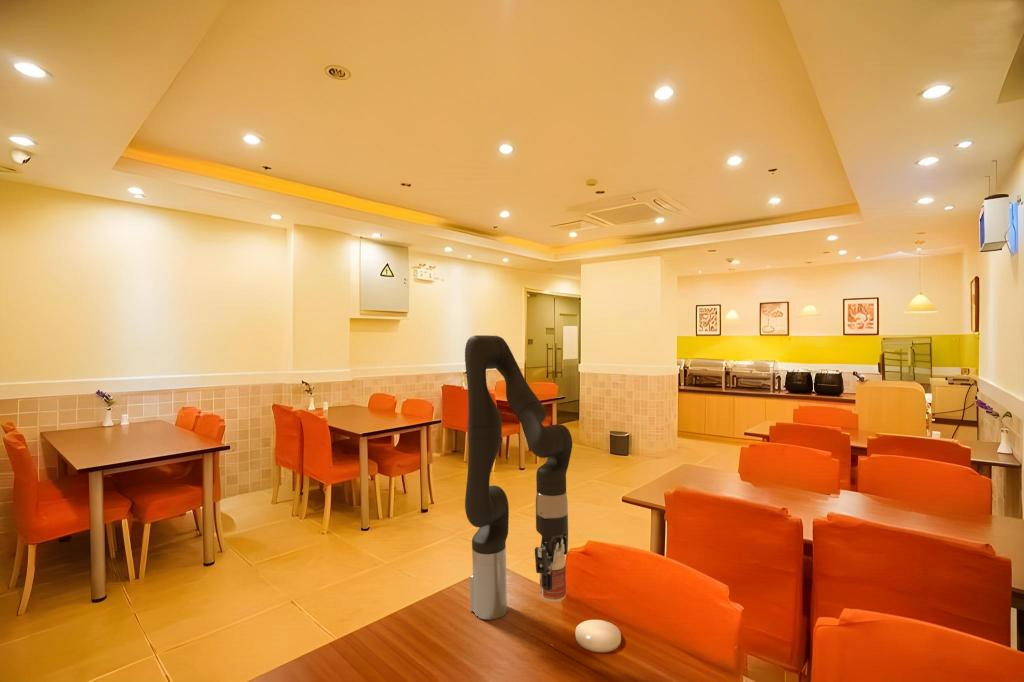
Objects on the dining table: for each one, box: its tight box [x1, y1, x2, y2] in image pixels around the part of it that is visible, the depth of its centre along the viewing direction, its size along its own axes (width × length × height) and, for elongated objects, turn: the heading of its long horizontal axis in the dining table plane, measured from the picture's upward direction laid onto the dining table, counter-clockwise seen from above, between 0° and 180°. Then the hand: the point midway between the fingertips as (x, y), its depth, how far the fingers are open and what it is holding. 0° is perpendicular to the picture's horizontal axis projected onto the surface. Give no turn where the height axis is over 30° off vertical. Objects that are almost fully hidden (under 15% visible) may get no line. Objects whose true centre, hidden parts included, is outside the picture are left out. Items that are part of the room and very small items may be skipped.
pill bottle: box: [539, 547, 567, 603], centre depth 109 cm, size 6×6×11 cm
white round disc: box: [574, 619, 622, 653], centre depth 114 cm, size 11×11×1 cm
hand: (552, 581), depth 109 cm, fingers closed on pill bottle, 6 cm apart
